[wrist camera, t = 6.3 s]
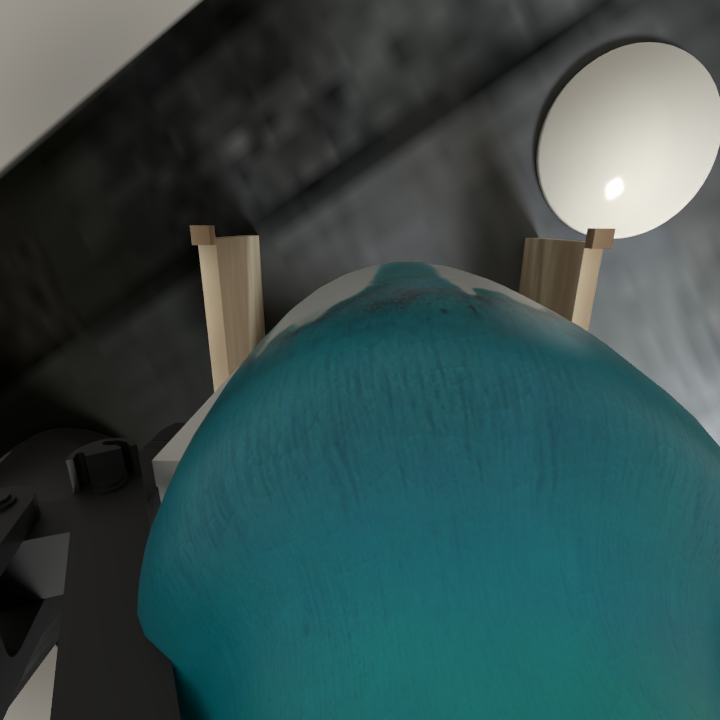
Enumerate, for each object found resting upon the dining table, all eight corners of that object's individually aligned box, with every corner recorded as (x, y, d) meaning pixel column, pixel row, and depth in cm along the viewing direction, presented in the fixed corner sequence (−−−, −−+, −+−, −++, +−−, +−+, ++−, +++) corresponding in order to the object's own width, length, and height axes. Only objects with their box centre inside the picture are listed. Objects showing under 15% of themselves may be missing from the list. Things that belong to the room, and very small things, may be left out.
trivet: (525, 237, 30) (528, 237, 30) (549, 46, 27) (553, 42, 26) (689, 239, 30) (695, 239, 30) (737, 45, 26) (745, 41, 26)
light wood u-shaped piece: (257, 393, 35) (216, 454, 26) (244, 225, 31) (189, 225, 21) (516, 398, 34) (570, 462, 25) (540, 227, 30) (615, 228, 21)
